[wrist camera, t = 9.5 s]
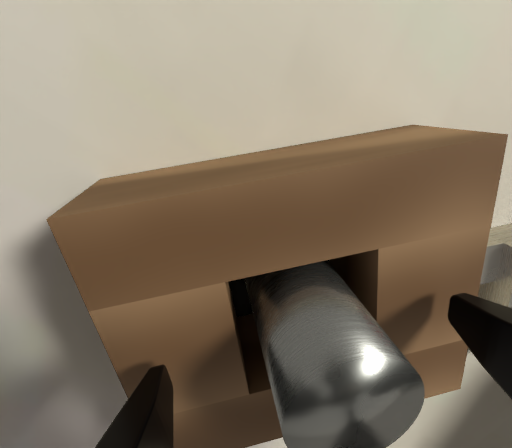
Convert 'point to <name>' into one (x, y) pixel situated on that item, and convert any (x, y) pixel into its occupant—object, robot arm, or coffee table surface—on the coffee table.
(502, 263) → the grey t-shaped block
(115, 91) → the coffee table surface
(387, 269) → the bore block
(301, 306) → the cylinder
